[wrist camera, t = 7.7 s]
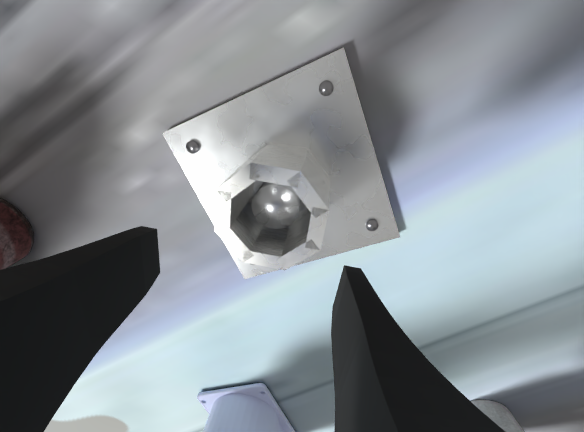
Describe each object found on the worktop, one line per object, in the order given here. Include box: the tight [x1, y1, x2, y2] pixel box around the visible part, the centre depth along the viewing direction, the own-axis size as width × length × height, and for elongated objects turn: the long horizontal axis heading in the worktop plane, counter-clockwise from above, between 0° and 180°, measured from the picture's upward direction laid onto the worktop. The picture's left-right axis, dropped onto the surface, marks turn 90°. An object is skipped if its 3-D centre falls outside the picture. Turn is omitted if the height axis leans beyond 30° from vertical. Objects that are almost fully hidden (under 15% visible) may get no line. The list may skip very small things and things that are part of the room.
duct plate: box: [162, 47, 400, 279], centre depth 17 cm, size 12×12×4 cm
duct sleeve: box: [215, 142, 330, 270], centre depth 17 cm, size 6×6×5 cm
